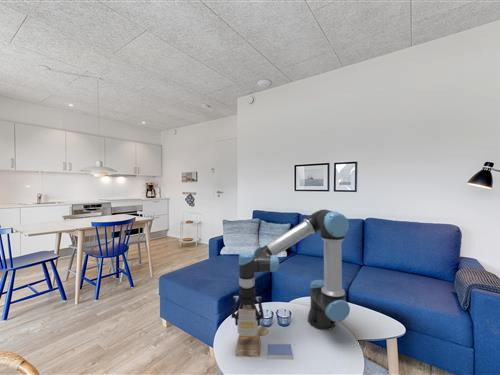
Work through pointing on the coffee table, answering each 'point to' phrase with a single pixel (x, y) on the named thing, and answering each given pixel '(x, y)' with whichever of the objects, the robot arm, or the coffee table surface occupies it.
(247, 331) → the supplement box
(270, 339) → the coffee table surface
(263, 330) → the coaster
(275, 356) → the paperback
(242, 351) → the podium
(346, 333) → the coffee table surface
